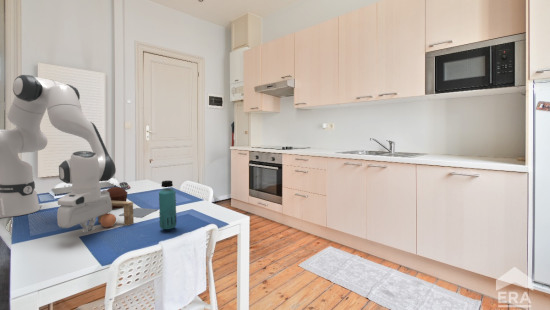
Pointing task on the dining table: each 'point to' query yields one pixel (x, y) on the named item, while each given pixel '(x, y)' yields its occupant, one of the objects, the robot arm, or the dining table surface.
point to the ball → (108, 220)
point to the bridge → (127, 211)
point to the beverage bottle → (167, 206)
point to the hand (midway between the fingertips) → (88, 230)
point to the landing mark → (141, 212)
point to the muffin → (117, 195)
